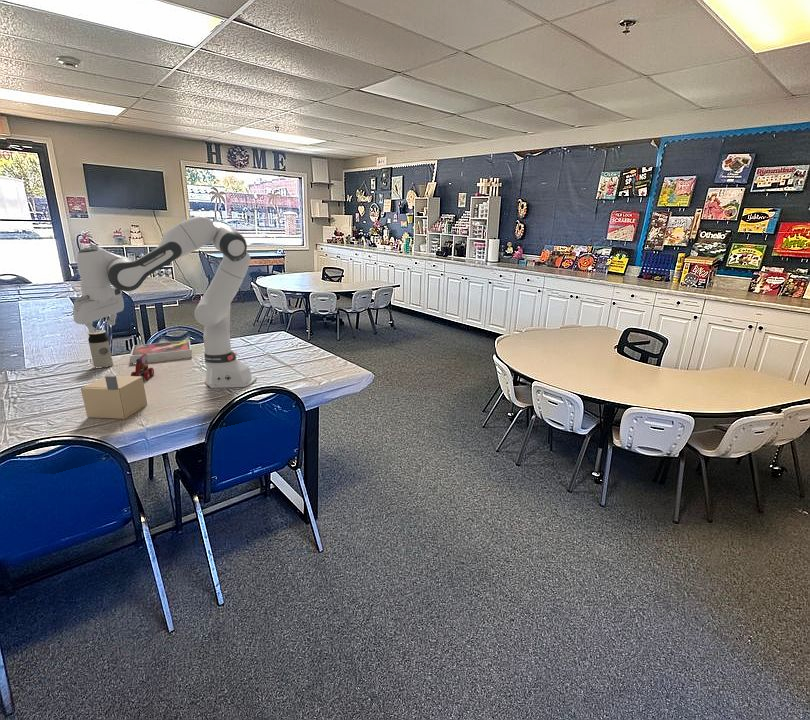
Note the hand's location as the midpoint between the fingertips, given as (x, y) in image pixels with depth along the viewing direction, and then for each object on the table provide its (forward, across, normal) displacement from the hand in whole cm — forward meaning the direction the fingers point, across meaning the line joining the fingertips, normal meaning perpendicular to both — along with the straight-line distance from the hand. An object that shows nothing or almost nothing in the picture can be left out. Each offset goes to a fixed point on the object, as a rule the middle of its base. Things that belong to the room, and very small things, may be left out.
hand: (102, 328), depth 159 cm
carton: (+31, -6, -7) cm, 32 cm away
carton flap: (+30, -13, -7) cm, 33 cm away
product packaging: (+40, +63, +22) cm, 78 cm away
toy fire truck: (+36, +29, +8) cm, 47 cm away
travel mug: (+40, +42, +39) cm, 69 cm away
